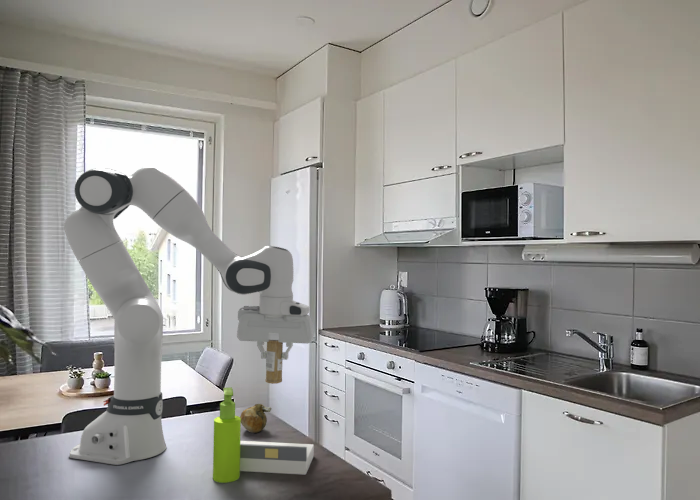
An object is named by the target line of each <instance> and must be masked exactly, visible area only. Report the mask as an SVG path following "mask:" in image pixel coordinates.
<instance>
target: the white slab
mask: <svg viewBox="0 0 700 500" xmlns="http://www.w3.org/2000/svg"><path fill="white" fill-rule="evenodd" d="M314 448H315V445H314V444H313V443H312V444H311V443H291V442H274V441H271V442H270V441H254V440H252V441H251V440H240V472H252V473H253V472H255V473H272V474H286V475H287V474H288V475H307V472H308V470H309V468H310V466H311V465H312V464H311V463H312V461H313V459H314V454H315V449H314Z"/></svg>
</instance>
